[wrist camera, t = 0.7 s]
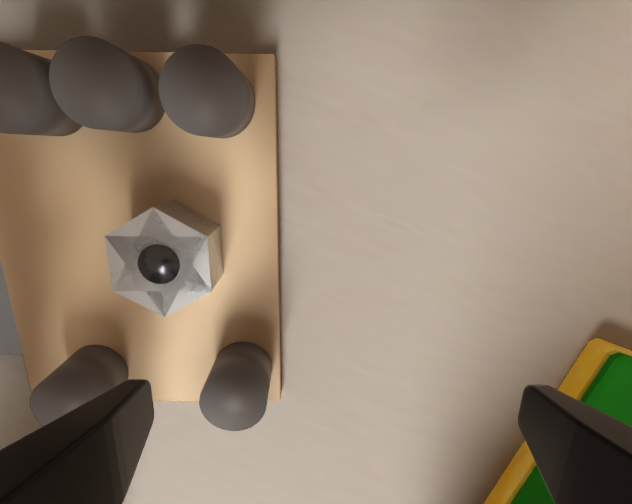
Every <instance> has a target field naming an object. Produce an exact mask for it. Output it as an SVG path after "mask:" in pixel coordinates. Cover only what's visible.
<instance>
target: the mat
mask: <svg viewBox="0 0 632 504" xmlns="http://www.w3.org/2000/svg"><path fill="white" fill-rule="evenodd" d="M0 354H22V350H21V346H20V342H19V337H18V333H17V329H16V324H15V320H14V316H13V312H12V307H11V303H10V299H9V294H8V290H7V286H6V281H5V277H4V273H3V268H2V264H1V260H0Z"/></svg>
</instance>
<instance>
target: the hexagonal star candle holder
mask: <svg viewBox="0 0 632 504" xmlns="http://www.w3.org/2000/svg"><path fill="white" fill-rule="evenodd" d="M105 243H106V250H107V256H108V263H109V270H110V277H111V283H112V290H113V292H115V293H117V294H119V295H121V296H123V297H125V298H127V299H129V300H131V301H133V302H135V303H137V304H139V305H141V306H144V307H146V308H148V309H150V310H152V311H154V312H156V313H158V314H160V315H162V316H164V317H166V316H168V315H170V314H172V313H173V312H175V311H177V310H179V309H181V308H182V307H184V306H186V305H188V304H190V303H191V302H193V301H195V300H197V299H199V298H201V297H202V296H204V295H206V294H208V293H210V292H211V291H212V290H213V288H214V287H215V285H216V284H217V282H218V281H219V280H220V278H221V277H222V275H223V274H224V270H223V253H222V236H221V225H220V224H218V223H216V222H214V221H212V220H211V219H209V218H207V217H205V216H203V215H202V214H200V213H198V212H196V211H194V210H193V209H191V208H189V207H187V206H185V205H184V204H182V203H180V202H178V201H176V200H175V199H173V200H170V201H168V202H165V203H162V204H160V205H157V206H154V207H152V208H150V209H149V210H147V211H145V212H144V213H142V214H140V215H139V216H137V217H135V218H134V219H132V220H130V221H129V222H127V223H125V224H124V225H122V226H120V227H119V228H117V229H115V230H114V231H112V232H110V233H109V234H107V235H105Z"/></svg>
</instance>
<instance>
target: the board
mask: <svg viewBox="0 0 632 504" xmlns="http://www.w3.org/2000/svg"><path fill="white" fill-rule="evenodd" d="M173 199H175V200H176V201H178V202H180V203H182V204H184V205H185V206H187V207H189V208H191V209H193V210H194V211H196V212H198V213H200V214H202V215H203V216H205V217H207V218H209V219H211V220H212V221H214V222H216V223H218V224H220V225H221V236H222V253H223V270H224V274H223V275H222V277H221V278H220V280H219V281H218V282H217V284H216V285H215V287H214V288H213V290H212V291H211V292H210V293H208V294H206V295H204V296H202V297H201V298H199V299H197V300H195V301H193V302H191V303H190V304H188V305H186V306H184V307H182V308H181V309H179V310H177V311H175V312H173V313H172V314H170V315H168V316H166V317H164V316H162V315H160V314H158V313H156V312H154V311H152V310H150V309H148V308H146V307H144V306H141V305H139V304H137V303H135V302H133V301H131V300H129V299H127V298H125V297H123V296H121V295H119V294H117V293H115V292H113V290H112V283H111V277H110V270H109V263H108V256H107V250H106V243H105V235H107V234H109V233H110V232H112V231H114V230H115V229H117V228H119V227H120V226H122V225H124V224H125V223H127V222H129V221H130V220H132V219H134V218H135V217H137V216H139V215H140V214H142V213H144V212H145V211H147V210H149V209H150V208H152V207H154V206H157V205H160V204H162V203H165V202H168V201H170V200H173ZM0 260H1V264H2V268H3V273H4V277H5V281H6V286H7V290H8V294H9V299H10V303H11V307H12V312H13V316H14V320H15V324H16V329H17V333H18V337H19V342H20V346H21V350H22V355H23V359H24V363H25V368H26V372H27V376H28V381H29V385H30V389H31V396H30V408H31V411H32V413H33V415H34V416H35V418H36V419H37V420H38V421H39V422H40V423H41V424H42V425H43V426H45V425H47V424H49V423H50V422H52V421H54V420H56V419H58V418H59V417H61V416H63V415H65V414H67V413H68V412H70V411H72V410H74V409H76V408H77V407H79V406H81V405H83V404H85V403H86V402H88V401H90V400H92V399H94V398H95V397H97V396H99V395H101V394H103V393H104V392H106V391H108V390H110V389H112V388H113V387H115V386H117V385H119V384H120V383H122V382H124V381H126V380H128V379H146V380H148V381H149V382H150V384H151V390H152V399H153V401H199V404H200V409H201V411H202V413H203V415H204V417H205V418H206V419H207V420H208V421H209V422H210V423H211V424H213V425H214V426H216V427H218V428H221V429H224V430H229V431H240V430H244V429H248V428H250V427H252V426H254V425H255V424H256V423H258V422H259V421H260V420H261V418H262V417H263V415H264V413H265V410H266V405H267V401H280V398H281V349H280V287H279V226H278V164H277V102H276V58H275V55H274V54H242V53H222V52H221V51H219V50H217V49H215V48H213V47H210V46H206V45H199V44H197V45H189V46H185V47H183V48H180V49H179V50H177V51H175V52H128V51H123V50H121V49H119V48H118V47H116V46H114V45H112V44H110V43H108V42H106V41H104V40H102V39H99V38H95V37H89V36H82V37H76V38H73V39H70V40H68V41H67V42H65V43H64V44H62V45H61V46H60V47H59V48H58V50H21V49H18V48H15V47H12V46H10V45H7V44H4V43H1V42H0Z"/></svg>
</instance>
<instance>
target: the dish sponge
mask: <svg viewBox="0 0 632 504" xmlns="http://www.w3.org/2000/svg"><path fill="white" fill-rule="evenodd" d="M557 390H558V391H560V392H562V393H564V394H566V395H568V396H571V397H573V398H575V399H577V400H579V401H581V402H583V403H585V404H587V405H589V406H591V407H593V408H595V409H597V410H599V411H601V412H603V413H605V414H607V415H609V416H611V417H613V418H615V419H617V420H619V421H621V422H623V423H625V424H627V425H629V426H631V427H632V351H631V350H629V349H626V348H623V347H621V346H618V345H615V344H613V343H610V342H607V341H605V340H602V339H599V338H595V339H592V340H590V341H589V342H588V343H587V345H586V346H585V348H584V349H583V351H582V352H581V354H580V355H579V357H578V359H577V360H576V362H575V363H574V365H573V366H572V368H571V369H570V371H569V372H568V374H567V376H566V377H565V379H564V380H563V382H562V383H561V385H560V386H559V388H558V389H557ZM484 504H555V503H554V501H553V499H552V497H551V495H550V493H549V491H548V488H547V486H546V484H545V482H544V480H543V478H542V475H541V473H540V471H539V469H538V467H537V465H536V463H535V460H534V458H533V456H532V454H531V452H530V450H529V447H528V445H527V443H526V441H525V440H524V442H523V444H522V445H521V447H520V448H519V450H518V451H517V453H516V454H515V456H514V457H513V459H512V461H511V462H510V464H509V465H508V467H507V468H506V470H505V471H504V473H503V474H502V476H501V478H500V479H499V481H498V482H497V484H496V485H495V487H494V488H493V490H492V491H491V493H490V495H489V496H488V498H487V499H486V501H485V502H484Z"/></svg>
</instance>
